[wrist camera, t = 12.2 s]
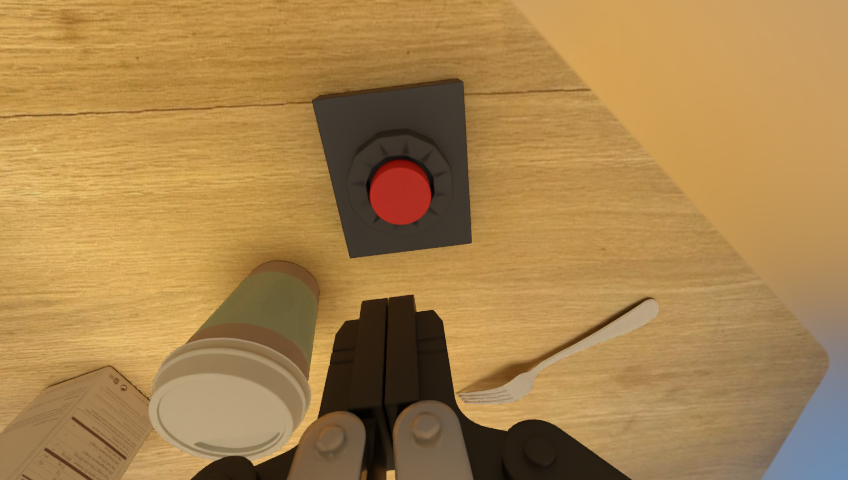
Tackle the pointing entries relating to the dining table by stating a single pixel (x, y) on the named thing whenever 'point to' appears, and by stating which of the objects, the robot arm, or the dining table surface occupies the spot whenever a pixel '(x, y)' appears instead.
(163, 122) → the dining table surface
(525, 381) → the fork
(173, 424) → the coffee cup
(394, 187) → the button
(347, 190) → the button block
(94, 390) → the white packaging box
